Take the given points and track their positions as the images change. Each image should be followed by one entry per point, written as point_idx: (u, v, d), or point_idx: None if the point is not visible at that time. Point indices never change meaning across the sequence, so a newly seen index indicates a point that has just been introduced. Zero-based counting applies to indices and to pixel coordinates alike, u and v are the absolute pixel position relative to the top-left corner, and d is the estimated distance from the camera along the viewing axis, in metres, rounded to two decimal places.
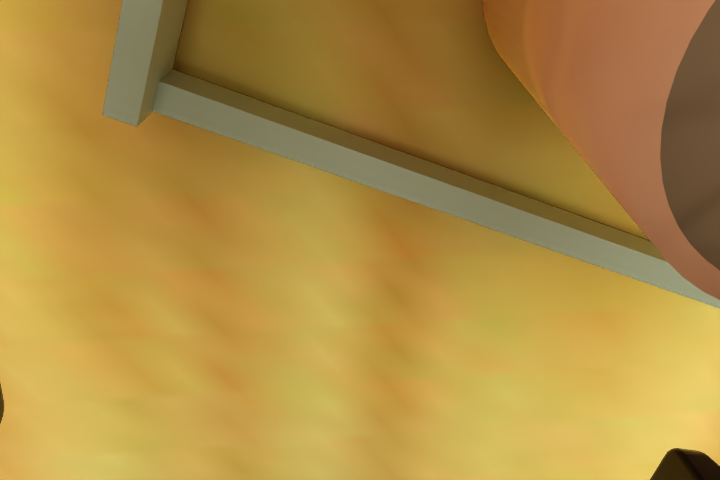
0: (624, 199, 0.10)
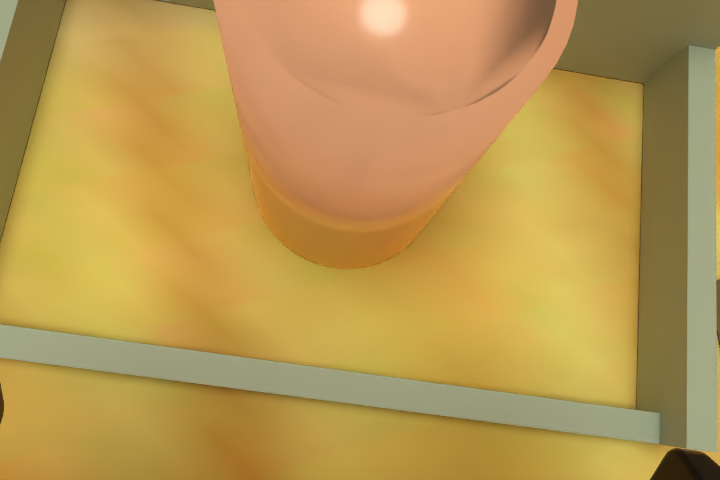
0: (259, 93, 0.11)
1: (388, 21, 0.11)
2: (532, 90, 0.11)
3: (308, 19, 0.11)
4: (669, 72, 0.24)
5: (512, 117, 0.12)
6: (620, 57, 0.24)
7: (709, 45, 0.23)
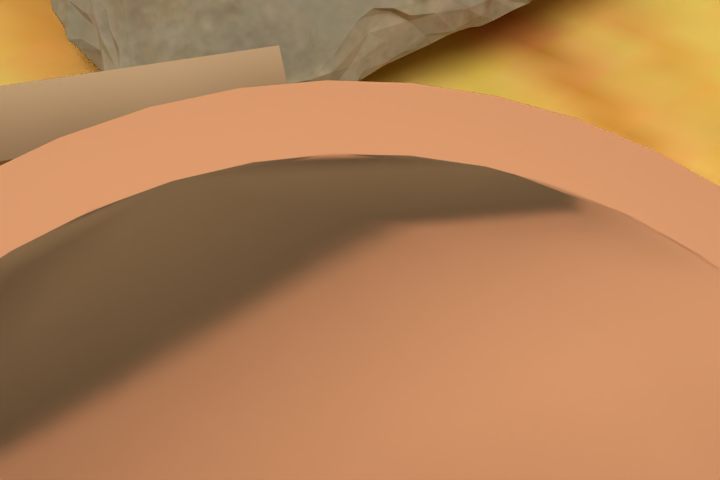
0: None
1: None
2: None
3: None
4: None
5: None
6: None
7: None
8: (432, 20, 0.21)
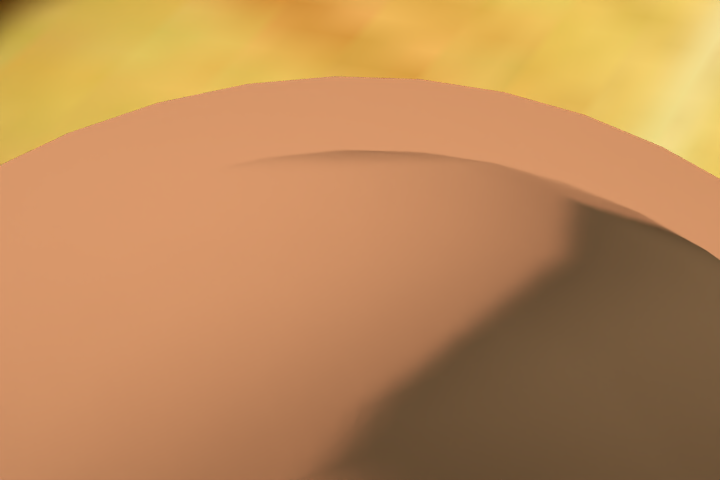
0: None
1: None
2: None
3: None
4: None
5: None
6: None
7: None
8: None
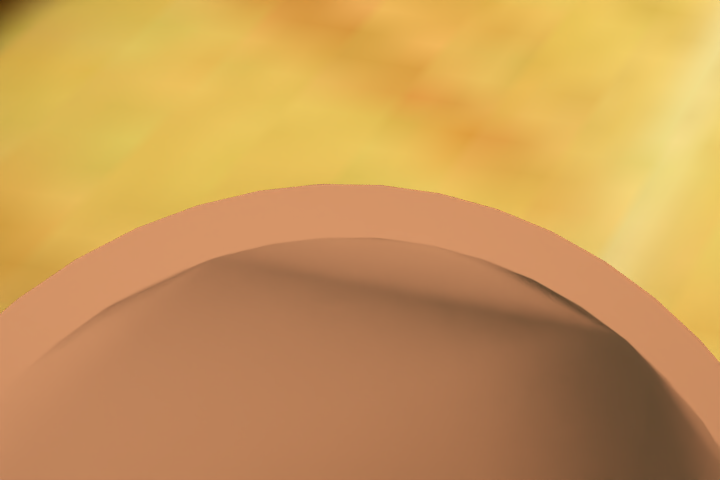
0: None
1: None
2: None
3: None
4: None
5: None
6: None
7: None
8: None
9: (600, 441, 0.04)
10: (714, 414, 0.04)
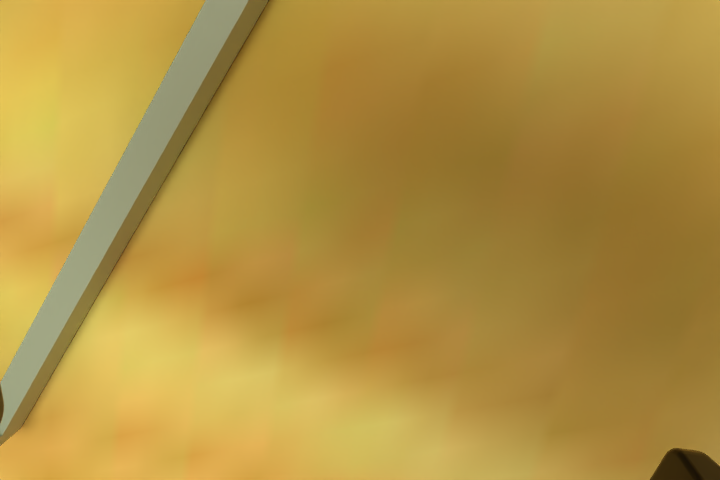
0: None
1: None
2: None
3: None
4: None
5: None
6: None
7: None
8: None
9: None
10: None
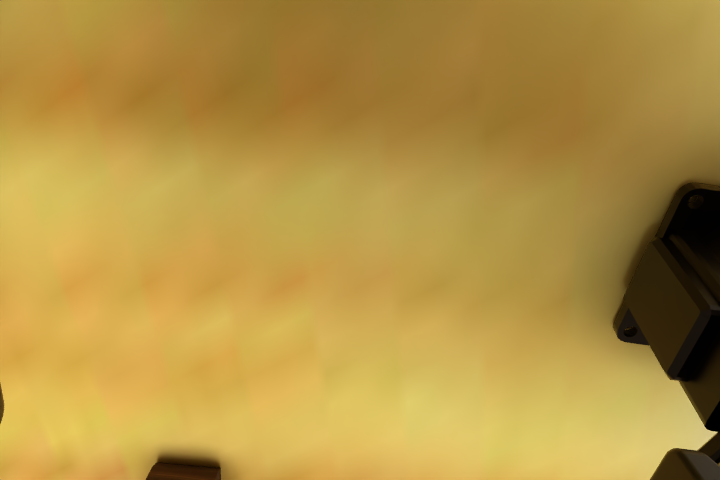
0: None
1: None
2: None
3: None
4: None
5: None
6: None
7: None
8: None
9: None
10: None
